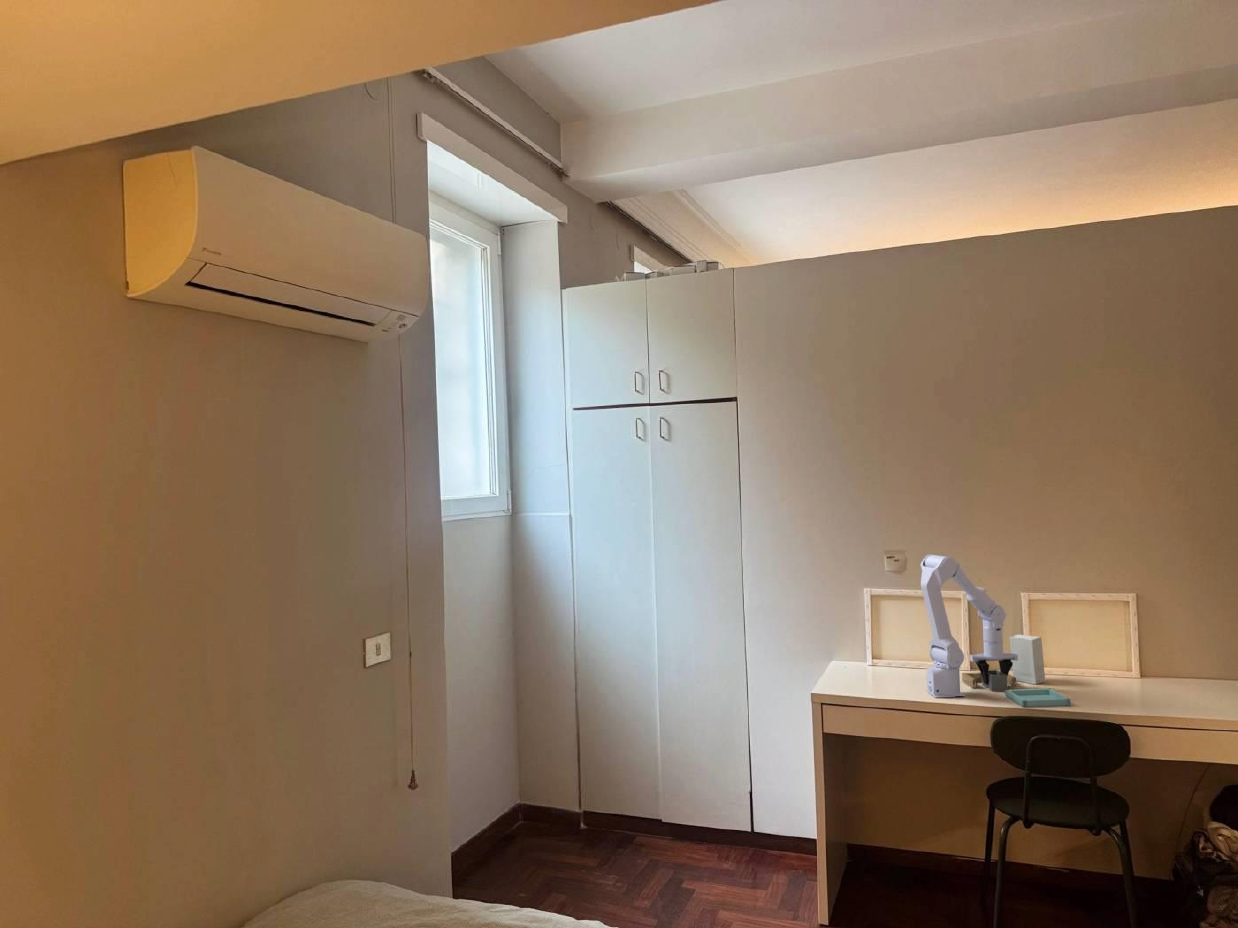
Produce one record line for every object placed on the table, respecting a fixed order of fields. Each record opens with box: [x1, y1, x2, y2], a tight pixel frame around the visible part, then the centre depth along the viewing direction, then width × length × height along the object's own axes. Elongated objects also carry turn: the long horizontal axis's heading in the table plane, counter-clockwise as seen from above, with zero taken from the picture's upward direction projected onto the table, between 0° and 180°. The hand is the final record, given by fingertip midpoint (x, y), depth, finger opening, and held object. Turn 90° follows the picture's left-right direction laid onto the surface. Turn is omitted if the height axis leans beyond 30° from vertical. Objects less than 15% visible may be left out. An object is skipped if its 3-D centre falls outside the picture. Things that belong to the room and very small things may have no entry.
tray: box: [1004, 687, 1072, 708], centre depth 253 cm, size 14×12×2 cm
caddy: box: [981, 669, 1009, 692], centre depth 268 cm, size 5×7×5 cm
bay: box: [961, 671, 1017, 689], centre depth 273 cm, size 14×8×3 cm, turn 89°
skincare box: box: [1009, 633, 1046, 685], centre depth 275 cm, size 8×6×15 cm
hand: (994, 683), depth 268 cm, fingers closed on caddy, 5 cm apart
